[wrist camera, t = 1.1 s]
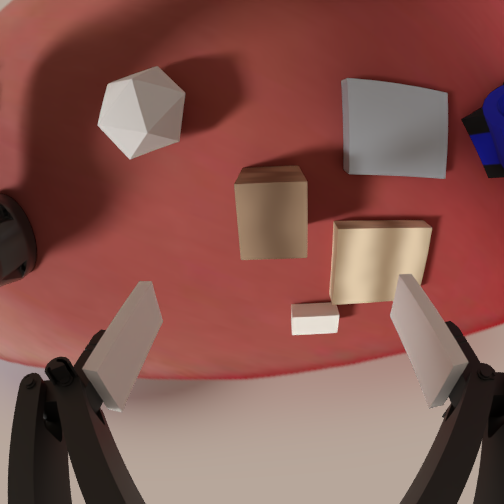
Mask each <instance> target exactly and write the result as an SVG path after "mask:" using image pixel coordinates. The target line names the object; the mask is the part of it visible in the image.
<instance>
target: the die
mask: <svg viewBox="0 0 504 504" xmlns="http://www.w3.org/2000/svg"><path fill="white" fill-rule="evenodd" d="M184 100H185V92H184V91H183V90H182V89H181V88H180V87H179V86H178V85H177V84H176V83H175V82H174V81H173V80H172V79H171V78H169V77H168V76H167V75H166V74H165V73H164V72H163V71H162V70H161V69H160V68H159V67H158V66H156V67H153V68H150V69H147V70H144V71H141V72H138V73H135V74H132V75H129V76H127V77H124V78H121V79H119V80H116V81H114V82H111V83H109V84H108V85H107V88H106V92H105V96H104V99H103V103H102V108H101V112H100V116H99V120H98V126H99V128H100V129H101V130H102V131H103V132H104V133H105V134H106V135H107V136H108V137H109V138H110V139H111V140H112V141H113V142H114V143H115V144H116V146H117V147H118V148H119V149H120V150H121V151H122V152H123V153H124V154H125V155H126V156H127V157H128V158H129V159H133V158H135V157H138V156H140V155H143V154H146V153H148V152H151V151H154V150H156V149H159V148H162V147H165V146H168V145H170V144H173V143H176V142H179V141H180V132H181V124H182V116H183V108H184Z"/></svg>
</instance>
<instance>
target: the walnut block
mask: <svg viewBox="0 0 504 504" xmlns="http://www.w3.org/2000/svg"><path fill="white" fill-rule="evenodd" d="M234 188H235V200H236V211H237V222H238V233H239V244H240V255H241V260H255V259H286V258H307V225H308V203H307V180H306V178H305V176H304V175H303V173H302V171H301V169H300V167H299V166H269V167H249V168H242V170H241V172H240V174H239V176H238V178H237V180H236V182H235V184H234Z"/></svg>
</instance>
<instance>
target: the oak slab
mask: <svg viewBox="0 0 504 504" xmlns="http://www.w3.org/2000/svg"><path fill="white" fill-rule="evenodd" d="M431 233H432V227H431V226H430V225H428V224H427V223H426V222H425V221H424V220H363V221H334V224H333V246H332V263H331V277H330V290H329V294H330V298H331V302H332V305H339V304H355V303H369V302H382V301H394V297H395V292H396V287H397V282H398V277H399V274H412V275H413V277H414V278H415V279H416V281H417V282H418V284H419V285H420V286H421V282H422V278H423V273H424V269H425V264H426V259H427V255H428V249H429V244H430V238H431Z"/></svg>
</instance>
